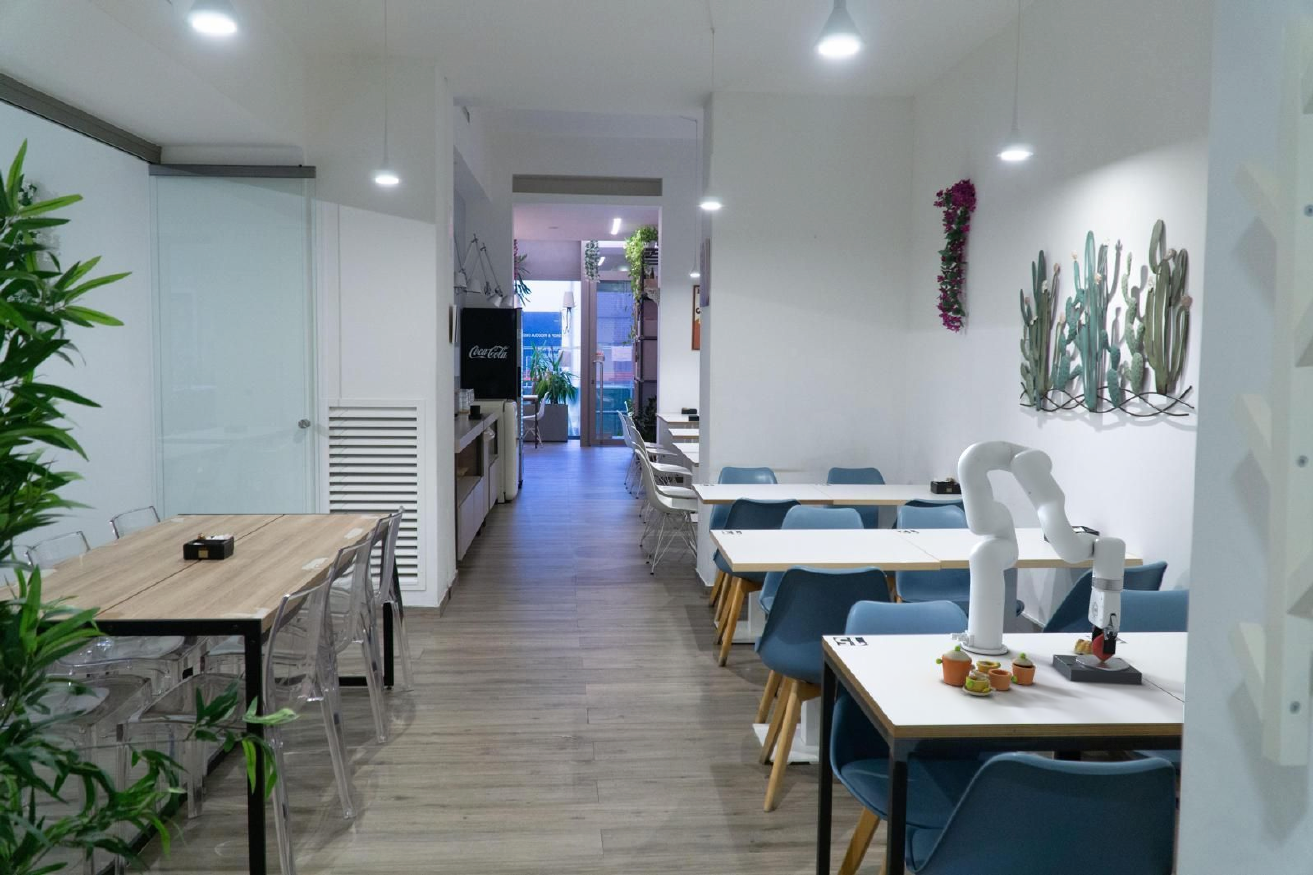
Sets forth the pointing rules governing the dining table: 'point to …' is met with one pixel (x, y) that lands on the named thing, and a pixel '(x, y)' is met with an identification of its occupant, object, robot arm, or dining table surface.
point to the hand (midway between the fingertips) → (1103, 649)
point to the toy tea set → (983, 672)
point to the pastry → (1083, 647)
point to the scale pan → (1102, 663)
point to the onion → (1099, 648)
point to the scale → (1094, 672)
